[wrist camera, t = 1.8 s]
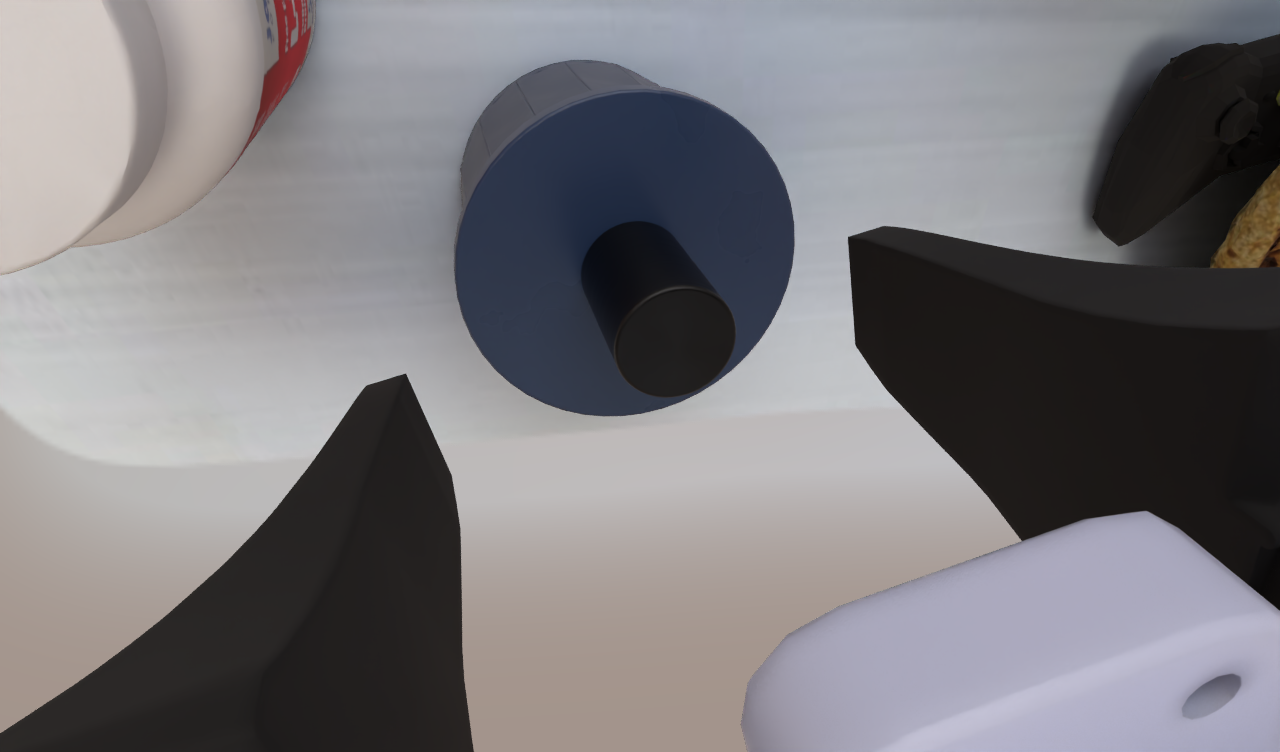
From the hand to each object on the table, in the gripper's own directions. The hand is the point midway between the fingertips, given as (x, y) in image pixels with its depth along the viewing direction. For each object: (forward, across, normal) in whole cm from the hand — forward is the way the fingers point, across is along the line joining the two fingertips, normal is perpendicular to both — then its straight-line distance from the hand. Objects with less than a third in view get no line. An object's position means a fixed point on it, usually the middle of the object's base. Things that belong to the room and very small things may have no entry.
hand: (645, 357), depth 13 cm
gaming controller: (+10, -21, +4) cm, 23 cm away
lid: (+5, -1, +1) cm, 5 cm away
